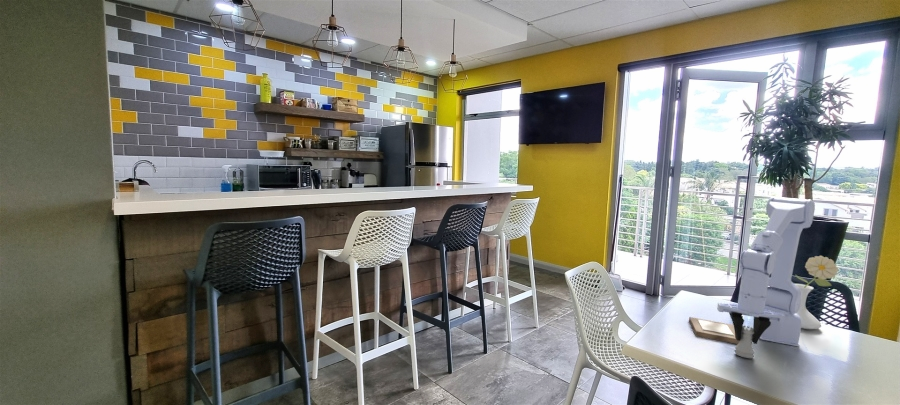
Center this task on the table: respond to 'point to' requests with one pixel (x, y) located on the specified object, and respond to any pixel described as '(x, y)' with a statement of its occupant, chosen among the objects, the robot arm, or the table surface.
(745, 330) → the rook chess piece
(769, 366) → the table surface
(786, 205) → the robot arm
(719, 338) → the base board
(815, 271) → the flower in vase
